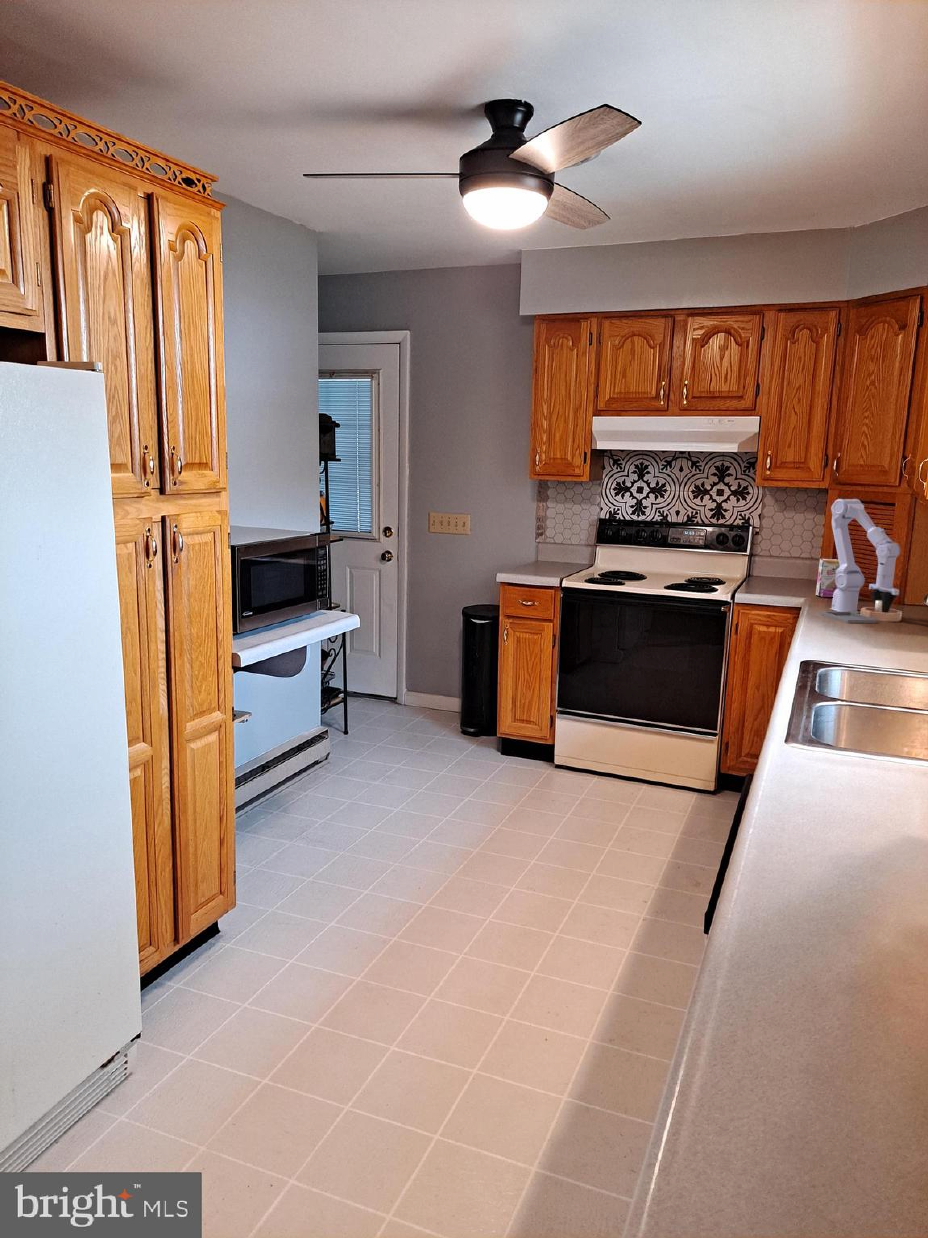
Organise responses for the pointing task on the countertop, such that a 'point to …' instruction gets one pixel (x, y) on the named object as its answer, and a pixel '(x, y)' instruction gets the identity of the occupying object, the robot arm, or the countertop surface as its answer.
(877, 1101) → the countertop surface
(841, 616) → the parts tray
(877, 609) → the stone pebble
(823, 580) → the candy bar box
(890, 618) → the terracotta bowl
